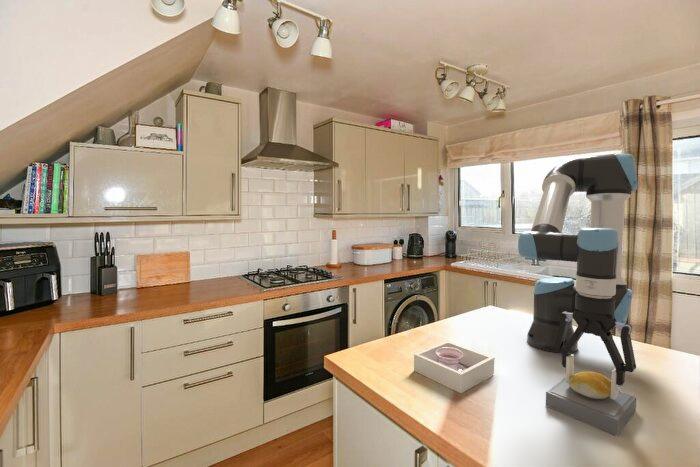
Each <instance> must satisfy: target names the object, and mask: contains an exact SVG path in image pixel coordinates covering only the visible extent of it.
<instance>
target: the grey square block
mask: <svg viewBox="0 0 700 467" xmlns="http://www.w3.org/2000/svg"><path fill="white" fill-rule="evenodd" d="M565 381H566V376H565V377H564V378H563V379H561V380H560V381H558V382H557V383H556V384H555V385H553V386H552V387H551V388H549V389H548V390H546V392H545V407H547V408H549V409H552V410H554V411H557V412H559V413H561V414H563V415H565V416H568V417H570V418H573V419H575V420H578V421H579V422H581V423H582V422H583V423H584V424H587V425H590V426H592V427H594V428H597V429H599V430H601V431H604V432H605V433H608V434H611V435H613V436H616V437H618V436H619V434H620V433H621V432H622V430H623V429H624V428H625V426H626V425H627V424H628V422H629V421H630V420H631V418H632V417H633V416H634V415H635V413H636V411H637V396H634V395H632V394H629V393H626V392H623V391H620V390H619V391H618V397H617V398H616V399H615V400H613V399H611V398H610V396H611V395H610V396H608V397H607V398H604V399H595V398H590V397H587V396H584V395H582V394H580V393H578V392H576V391H574V390H573V389H572V388H571V387H570V385H569V384H568V383H566V382H565Z"/></svg>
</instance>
